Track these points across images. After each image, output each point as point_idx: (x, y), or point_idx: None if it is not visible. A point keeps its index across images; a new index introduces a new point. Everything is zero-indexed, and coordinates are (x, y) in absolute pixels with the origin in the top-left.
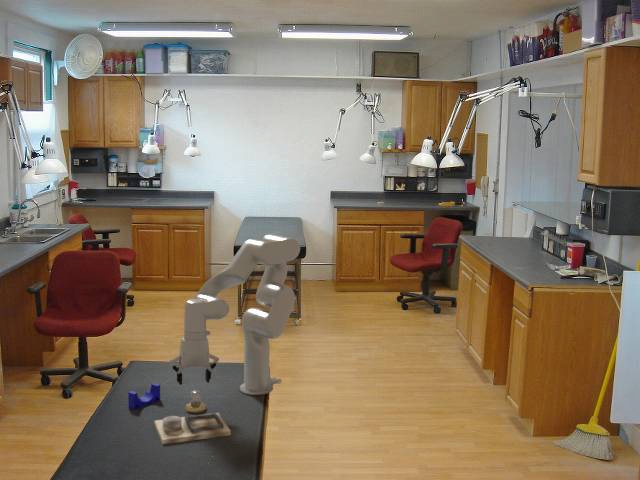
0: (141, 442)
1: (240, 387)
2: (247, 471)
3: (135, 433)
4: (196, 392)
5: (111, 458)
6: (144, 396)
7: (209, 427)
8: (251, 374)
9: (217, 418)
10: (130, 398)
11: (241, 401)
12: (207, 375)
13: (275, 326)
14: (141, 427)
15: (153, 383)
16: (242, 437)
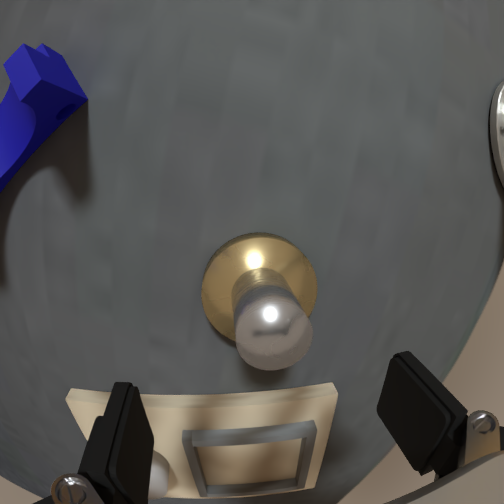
0: (67, 458)
1: (498, 120)
2: None
3: (34, 414)
4: (278, 351)
5: (35, 476)
6: (9, 102)
7: (258, 492)
8: None
9: (304, 462)
10: None
11: (465, 242)
12: (403, 452)
13: None
14: (37, 387)
15: (16, 52)
16: (333, 482)
